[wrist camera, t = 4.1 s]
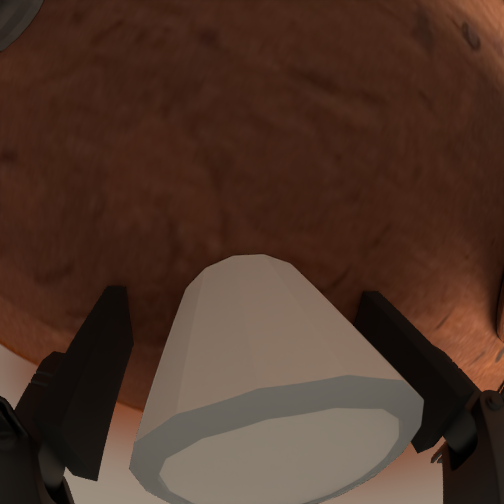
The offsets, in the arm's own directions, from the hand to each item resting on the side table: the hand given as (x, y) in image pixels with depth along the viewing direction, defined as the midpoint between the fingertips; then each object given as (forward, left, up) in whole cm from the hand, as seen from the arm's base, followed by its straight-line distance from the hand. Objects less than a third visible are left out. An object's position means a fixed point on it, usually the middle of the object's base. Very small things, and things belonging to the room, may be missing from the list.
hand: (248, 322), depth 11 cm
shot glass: (0, 0, 0) cm, 0 cm away
